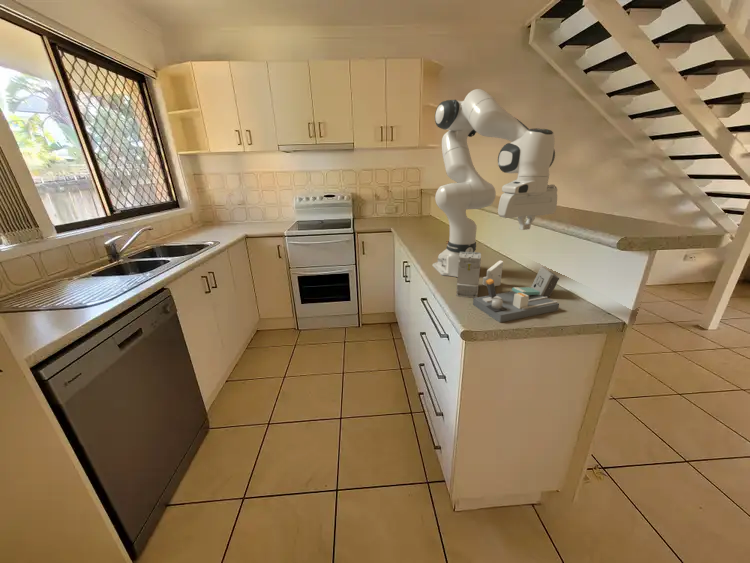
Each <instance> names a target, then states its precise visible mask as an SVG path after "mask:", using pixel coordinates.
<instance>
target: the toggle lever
mask: <svg viewBox="0 0 750 563" xmlns="http://www.w3.org/2000/svg"><path fill="white" fill-rule="evenodd" d="M486 283H487V286H486V287H487V292H488V296H489V297H491V298H494V297H495V296H496V294H497V293H496V288H495V287H496V286H494V280H492V279H488V280H486Z"/></svg>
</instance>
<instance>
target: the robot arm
mask: <svg viewBox="0 0 750 563" xmlns="http://www.w3.org/2000/svg"><path fill="white" fill-rule="evenodd" d="M434 122H435V125H436V127H437V128H439V129H441V130H446V131H447V130H448V131H447V132H445V133H444V134H443V136H442V138H441V152H442V159H443V164H444V165H443V166H444V169H445V173H446V175H447V177H448V179H450V180H452V181H454V182H452V183H451V182H450V183H447V184H444V185H440V186H439V187H438V188H437V190H436V192H435V197H434V200H435V204H436V206H437V207H438V209H439V210H441V211H442V212H443V213H444V214H445V215H446V217H447V220H448V224H449V225H448V226H449V238H448V239H449V240H447V241H446V244H447V245H446V248H445V249H444V250H443V251H441V252H440V253H439V254H438V256H437V261H436V262H434V263H432V267H433V268H434V269H435V270H436V271H437V272H438V273H439V274H440V275H441V276H448V277H449V276H450V277H455V278H456V277H457V278H458V264H459V254H460V252H476V251H477V241H476V240H477V238H476V237H477V224H476V222H475V221H474V220H472V219H471V218H469V217H468V216H467V210H480V209H483V208H487V207H489V206H492V205H493V203H494V202H495V199H496V195H497V193H496V187H495V186H494V185H493V184H492V183H490V182H488V181H487V180H486V179H484V178H483V177H482V176H481V175H480V173H479V172H478V170H476V168H475V167H474V166H475V165H474V163H473V160H472V157H471V152H470V149H469V144H468V138H472V137H474V136H475V135H476V133H478V134H479V135H481V136H482V137H487V138H496V139H502V140H503V139H504V140H507V141H509V142H508V143H505V144H504V145H503V146H502V147H501V149H500V151H499V152H498V157H497V167H499V170H500V171H502V173H505V174H517V178H516V179H514V180H512V181H510V182H508V183H505V184H504V185H502V186H501V192H502V193H501V195H500V198H499V202H498V207H497V215H498V216H499V217H500V218H503V219H509V218H517V221H518V224H519V226H518V229H519V230H521V231H525V230H527V231H528V230H530V229H531V226H532V224H533V222H534V221H535V219H536V216H543V215H553V214H554V213H556V211H557V208H558V206H557V204H558V187H557V186H556V185H555V184H549V180H550V168H551V167H552V165H553V163H554V161H555V159H556V158H555V157H556V152H555V151H556V150H555V142H556V141H555V133H554V131H553V130H552V129H547V128H538V127H537V128H528V126H526V125H525V124H524V123H523V122H522V121H521V120H519V119H517V117H515V116H514V115H512V114H511V113H510V112H508V111H507V110H506V109H505V108H503V107H502V105H500V103H499V102H498V101H497V100H496V99H495V98H494V97H493V96H492V95H491V94H490V93H489V92H487V91H486V90H484V89H482V88H476V89H473V90H470V92H468V93H467V95H465V97H464V100H457V99H448V100H442V101H441V102H440V103H439V104H438V105H437V107H436V110H435V113H434ZM525 220H526V221H525Z"/></svg>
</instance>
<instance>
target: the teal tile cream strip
mask: <svg viewBox="0 0 750 563" xmlns="http://www.w3.org/2000/svg"><path fill="white" fill-rule="evenodd" d="M512 291H514V292H516V293H524V294H526V295H539V294H540V292H539V291H537V290H535V289H533V288H531V286H529V287H528V286H527V287H526V286H525V287H517V286H516V287H515V286H514V287H512V288H511V292H512Z"/></svg>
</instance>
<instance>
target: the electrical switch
mask: <svg viewBox="0 0 750 563" xmlns="http://www.w3.org/2000/svg"><path fill="white" fill-rule="evenodd" d="M559 281H560V277H559V276H558V275H556V274H555V273H554V272H552V271H550V270H548V269H547V268H546V267H544V266H541V267H540V268H539V270H538V272H537V274H536V276H535V277H534V280H533V283H532V284H531V286H530V288H533V289H535V290H537V291H539V292H540V295H542V296H544V297H548V298H550V297H551V295H552V293H553V291H554V290H555V288H556V285H557V284H558V282H559Z"/></svg>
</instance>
